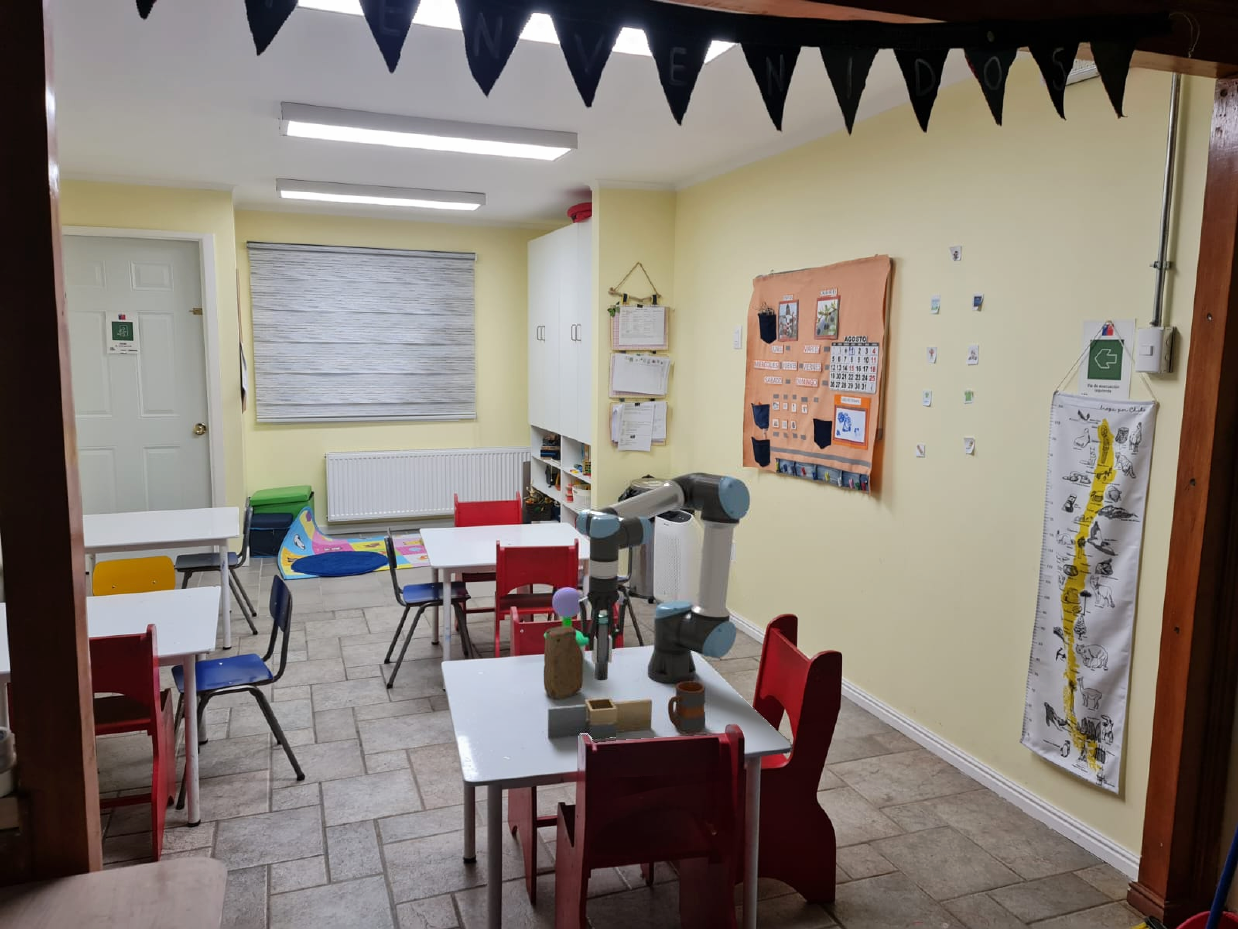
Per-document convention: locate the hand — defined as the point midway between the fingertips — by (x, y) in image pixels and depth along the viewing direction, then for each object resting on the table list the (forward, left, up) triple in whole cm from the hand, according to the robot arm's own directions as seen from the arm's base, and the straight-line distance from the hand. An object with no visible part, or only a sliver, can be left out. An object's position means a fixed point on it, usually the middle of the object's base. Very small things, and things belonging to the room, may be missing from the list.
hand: (601, 661), depth 226 cm
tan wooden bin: (-5, 0, -20) cm, 20 cm away
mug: (-23, +2, -20) cm, 31 cm away
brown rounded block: (+5, -27, -20) cm, 34 cm away
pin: (0, 0, -5) cm, 5 cm away
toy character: (-1, -51, -20) cm, 55 cm away
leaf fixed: (+5, 0, -20) cm, 21 cm away
